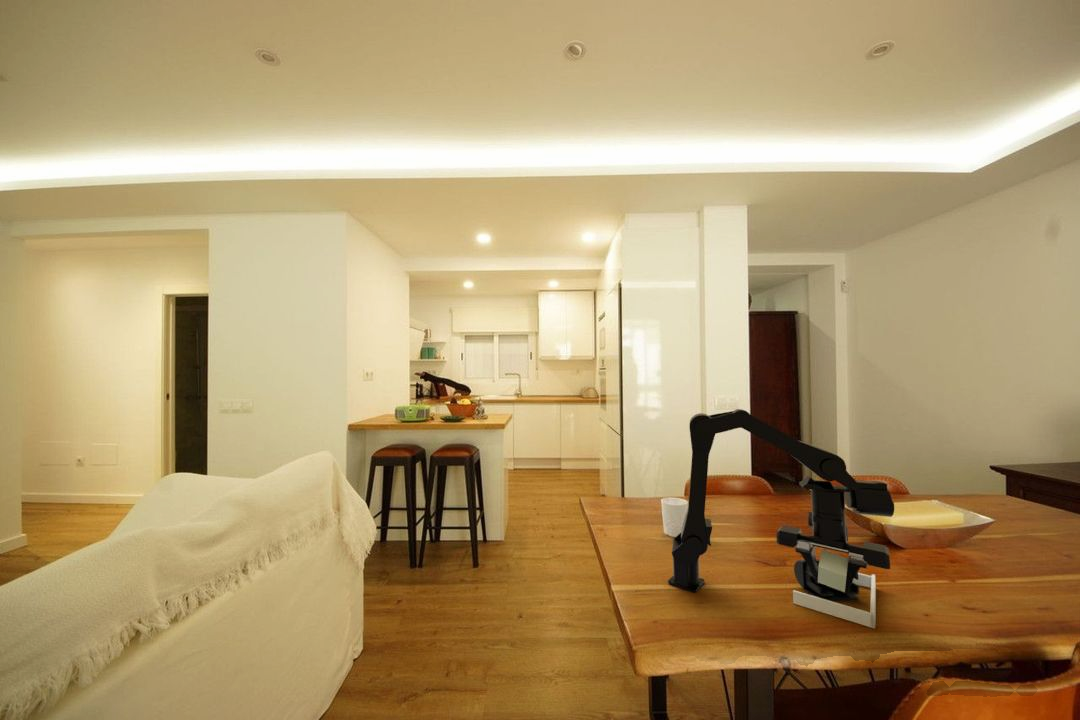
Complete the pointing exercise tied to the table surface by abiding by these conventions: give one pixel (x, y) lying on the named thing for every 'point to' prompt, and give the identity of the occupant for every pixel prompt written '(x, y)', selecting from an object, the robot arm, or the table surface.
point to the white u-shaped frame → (841, 609)
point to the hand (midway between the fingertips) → (832, 587)
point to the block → (832, 570)
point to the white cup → (673, 515)
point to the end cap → (820, 589)
